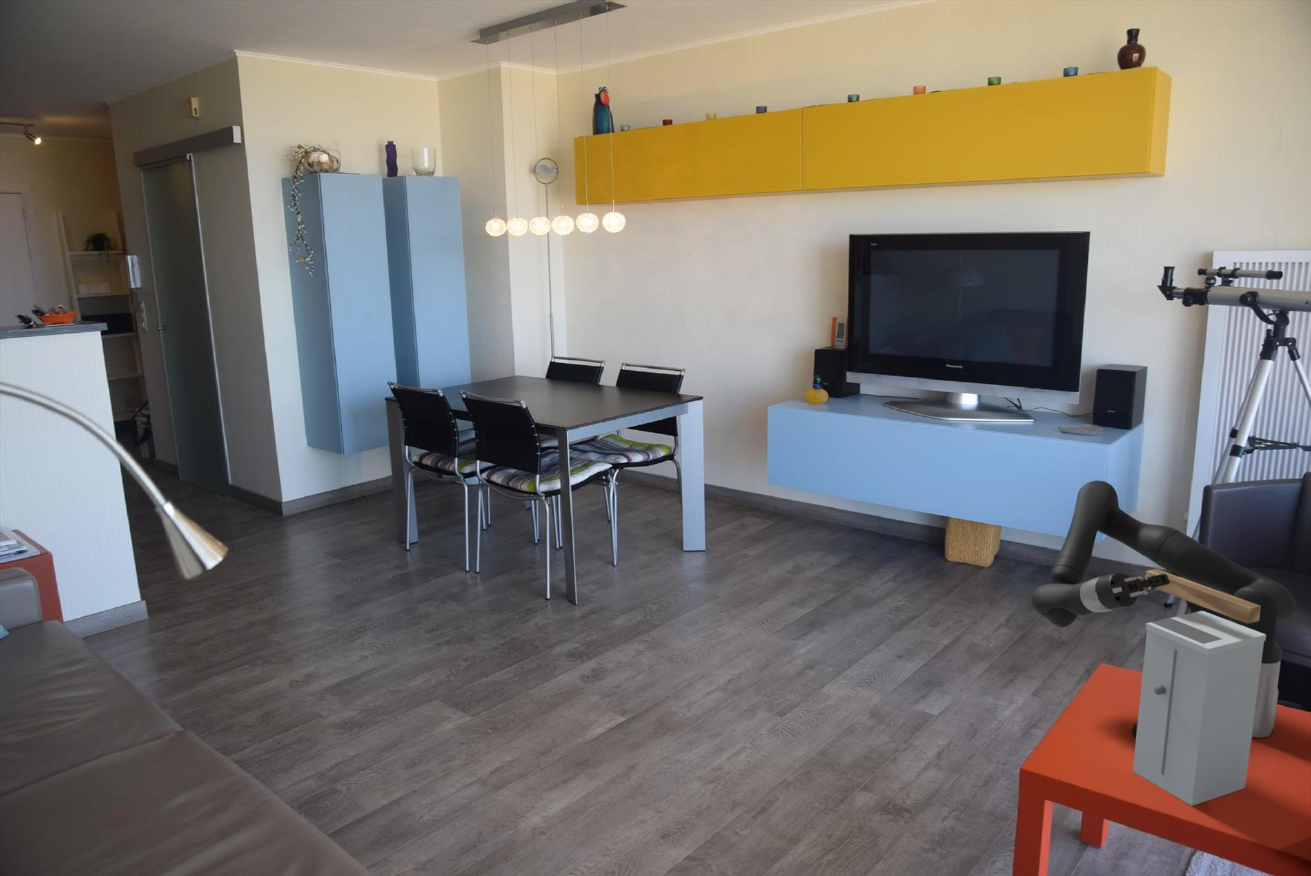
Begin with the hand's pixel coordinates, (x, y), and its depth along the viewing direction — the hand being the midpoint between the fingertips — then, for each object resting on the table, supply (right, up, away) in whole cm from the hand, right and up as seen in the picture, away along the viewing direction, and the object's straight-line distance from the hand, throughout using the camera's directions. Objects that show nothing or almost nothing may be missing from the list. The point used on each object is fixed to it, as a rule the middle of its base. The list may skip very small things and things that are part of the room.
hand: (1172, 577), depth 184 cm
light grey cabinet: (+2, -40, -2) cm, 40 cm away
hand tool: (+6, -36, +20) cm, 42 cm away
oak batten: (+2, -4, -5) cm, 7 cm away
